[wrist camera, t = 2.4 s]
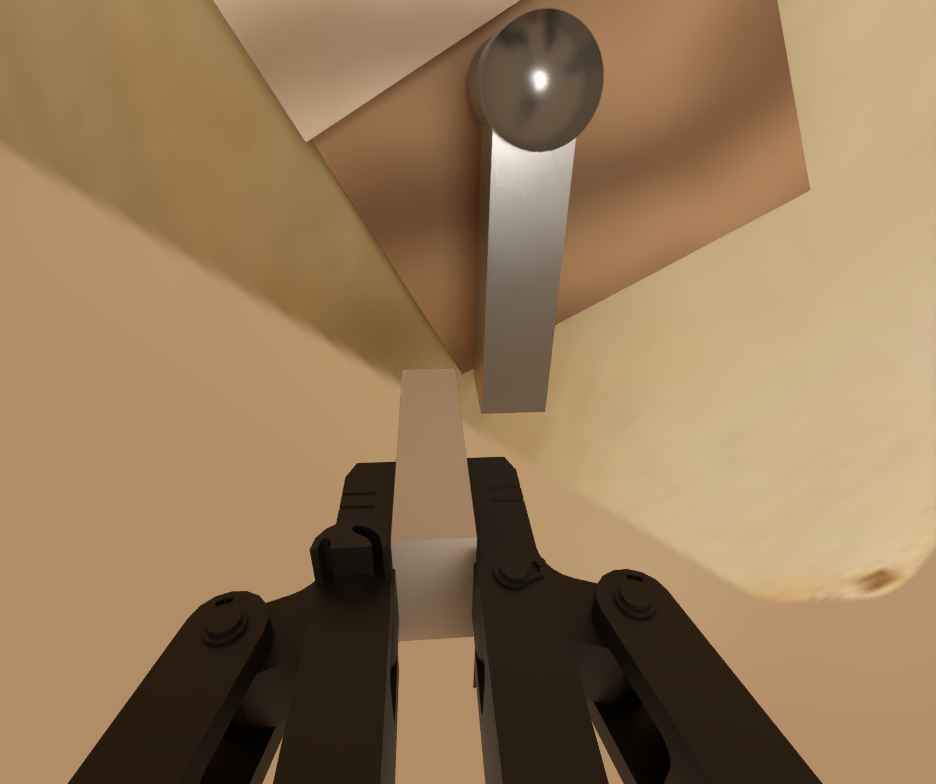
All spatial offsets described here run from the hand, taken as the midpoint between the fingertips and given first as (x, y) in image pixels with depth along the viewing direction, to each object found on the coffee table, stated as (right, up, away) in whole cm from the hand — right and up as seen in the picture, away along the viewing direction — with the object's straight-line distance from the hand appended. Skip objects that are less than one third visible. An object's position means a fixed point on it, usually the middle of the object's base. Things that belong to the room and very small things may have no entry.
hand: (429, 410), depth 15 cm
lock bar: (+3, +7, +5) cm, 9 cm away
